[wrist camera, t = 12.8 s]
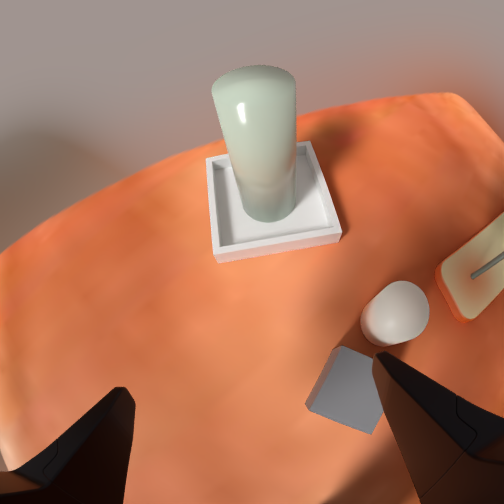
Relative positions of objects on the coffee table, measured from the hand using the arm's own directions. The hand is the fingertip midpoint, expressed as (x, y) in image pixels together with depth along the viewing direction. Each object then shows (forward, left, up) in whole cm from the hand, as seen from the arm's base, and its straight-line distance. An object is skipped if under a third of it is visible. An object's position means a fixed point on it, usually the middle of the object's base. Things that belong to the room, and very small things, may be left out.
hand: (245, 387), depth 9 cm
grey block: (-6, -2, -14) cm, 15 cm away
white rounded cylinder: (-6, -9, -14) cm, 17 cm away
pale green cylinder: (+9, -13, -13) cm, 21 cm away
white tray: (+9, -13, -14) cm, 21 cm away
